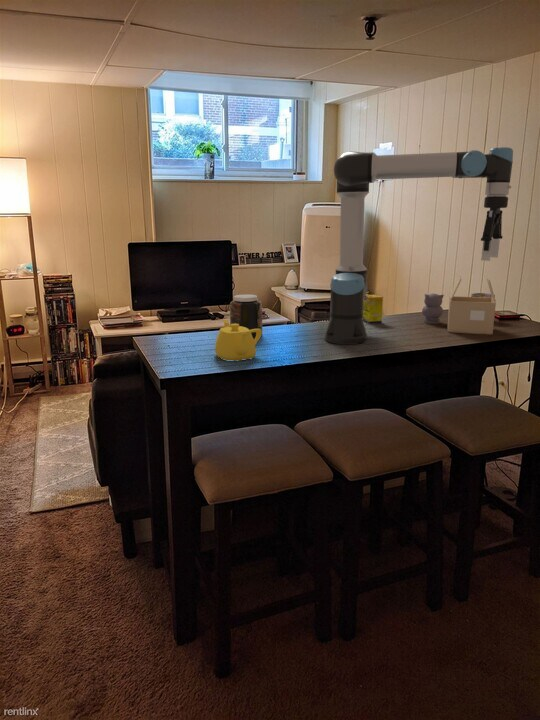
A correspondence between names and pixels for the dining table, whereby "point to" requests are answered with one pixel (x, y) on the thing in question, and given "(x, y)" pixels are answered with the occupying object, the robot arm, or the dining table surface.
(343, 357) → the dining table surface
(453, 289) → the flap
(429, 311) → the cat figurine
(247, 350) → the teapot
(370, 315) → the supplement box
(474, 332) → the carton
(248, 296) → the jar
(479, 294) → the mug
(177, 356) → the dining table surface
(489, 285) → the flap
